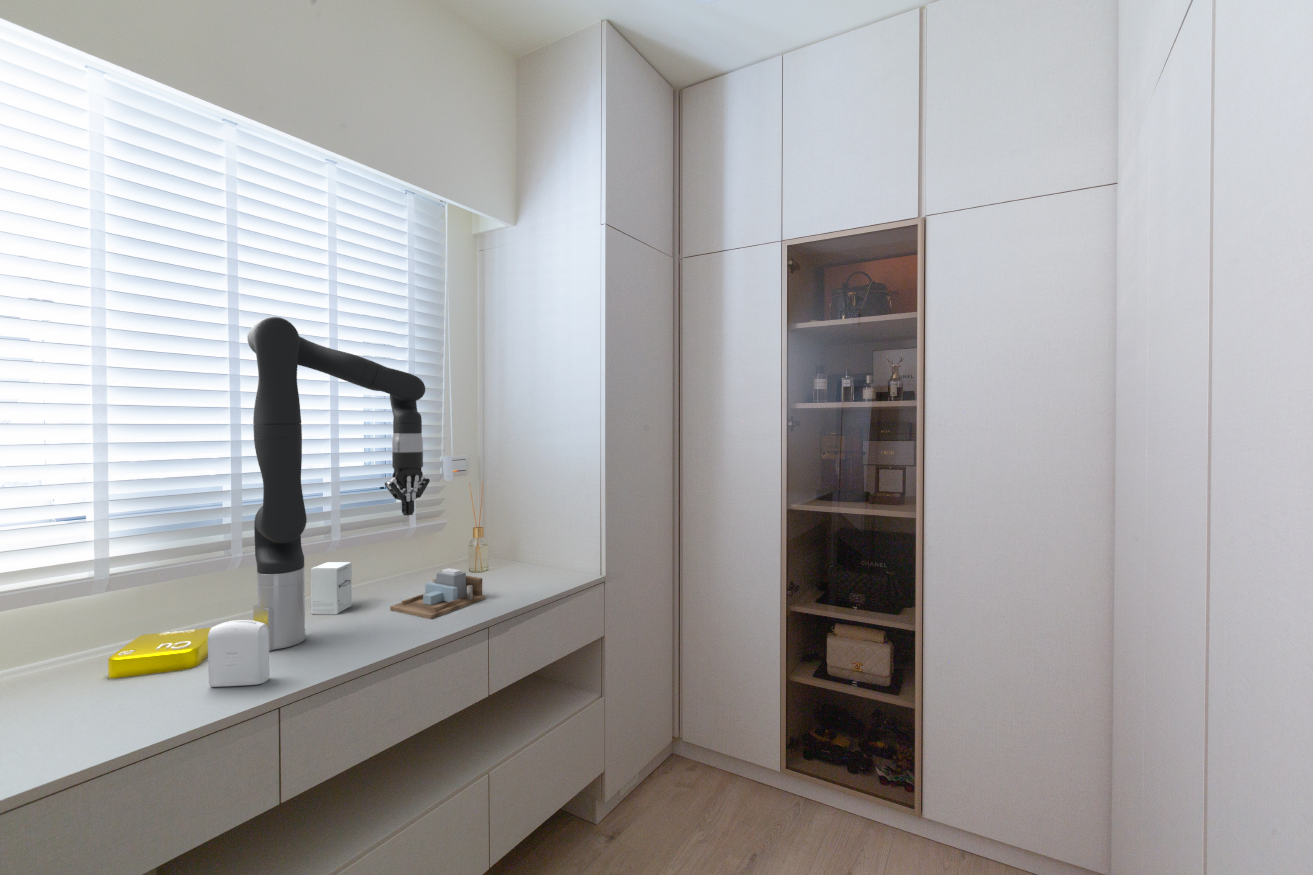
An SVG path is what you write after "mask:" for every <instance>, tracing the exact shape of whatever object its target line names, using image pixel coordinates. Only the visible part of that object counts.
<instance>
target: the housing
mask: <svg viewBox="0 0 1313 875" xmlns="http://www.w3.org/2000/svg"><path fill="white" fill-rule="evenodd" d="M431 583H436V578H434V579H431ZM424 594H425V593H422V594H419V595H416V596H413V597H409V598H407V599H403V600H401V602H399V603H396V604H394V605H390V606H389V609H390V611H393V612H397V613H398V612H399V613H403V614H407V615H411V616H417V617H420V618H425V619H429V620H432V619H435V618H438V617H441V616H443V615H447V614H448V613H451V612H454V611H457V610H459V609H462V608H465V607H467V606H470V605H472V604H473V605H474V604H476V603H478V602H480V601H483V600H485V599H486V595H485V594H484V595H483V577H477V576H471V575H466V597H463V598H460V599H456V600H453V601H451V602H446V601H441V602H438V603H435V604H432V605H428V604H423V595H424Z"/></svg>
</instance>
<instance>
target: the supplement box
mask: <svg viewBox="0 0 1313 875" xmlns="http://www.w3.org/2000/svg"><path fill="white" fill-rule="evenodd" d="M352 587H353V586H352V562H350V561H327V562H324V563H322V564H321V563H320V564H319V565H317V566H314V567H311V568H310V594H311V595H310V610H311V612H310V614H311V615H338V614H340V613H341V612H343V611H345V610H346V609H348V608H350V607H352V605H353V604H352V600H353V599H352V597H353V596H352V595H353V594H352V589H353V588H352Z"/></svg>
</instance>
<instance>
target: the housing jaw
mask: <svg viewBox="0 0 1313 875" xmlns="http://www.w3.org/2000/svg"><path fill="white" fill-rule="evenodd" d="M424 589H425V590H424V591H425V592H424V593H423V594H424V595H423V604H428V605H432V604H435V603H438V602H441V601H446V602H451V601H453V600H456V599H457V587H453V586H447V585H442V584H436V583H432V581H431V582H426V583H425V587H424Z"/></svg>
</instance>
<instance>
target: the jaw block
mask: <svg viewBox="0 0 1313 875" xmlns="http://www.w3.org/2000/svg"><path fill="white" fill-rule="evenodd" d="M435 574H436V578H435V579H436V584H442V585H447V586H453V587H457V599H460V598H463V597H466V576H467V572H465V571H461V569H456V568H451V567H450V568H449V567H448V568H445V569H441V571H439V572H436V573H435Z"/></svg>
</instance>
